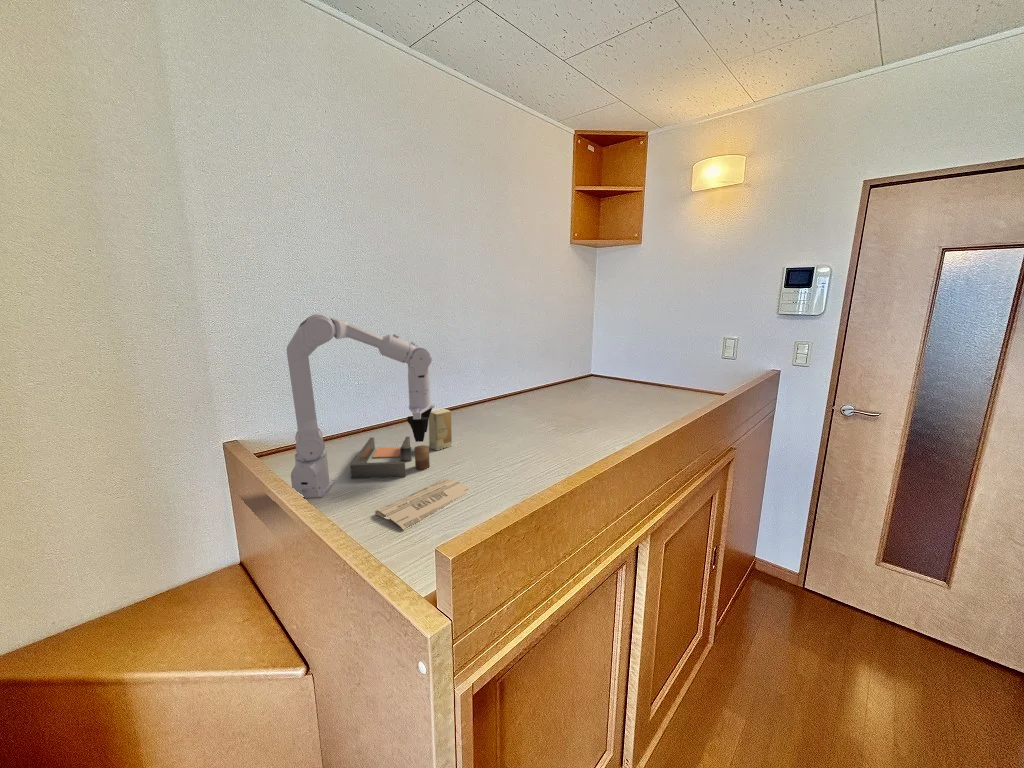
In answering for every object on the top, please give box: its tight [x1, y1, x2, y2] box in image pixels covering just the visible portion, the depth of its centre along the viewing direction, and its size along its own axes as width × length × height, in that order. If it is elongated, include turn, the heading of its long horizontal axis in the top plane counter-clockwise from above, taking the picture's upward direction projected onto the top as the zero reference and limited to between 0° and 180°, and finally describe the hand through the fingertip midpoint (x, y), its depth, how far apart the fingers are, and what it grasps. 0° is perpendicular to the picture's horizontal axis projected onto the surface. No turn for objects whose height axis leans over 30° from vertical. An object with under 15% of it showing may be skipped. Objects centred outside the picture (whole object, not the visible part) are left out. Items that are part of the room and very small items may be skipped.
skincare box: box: [428, 408, 453, 451], centre depth 132 cm, size 6×4×12 cm
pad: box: [371, 446, 401, 459], centre depth 128 cm, size 8×8×1 cm
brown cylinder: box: [414, 444, 431, 471], centre depth 116 cm, size 4×4×6 cm
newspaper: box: [374, 478, 473, 531], centre depth 97 cm, size 23×12×2 cm, turn 140°
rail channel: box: [350, 436, 412, 480], centre depth 120 cm, size 22×14×4 cm, turn 5°
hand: (421, 436), depth 115 cm, fingers open, 7 cm apart
